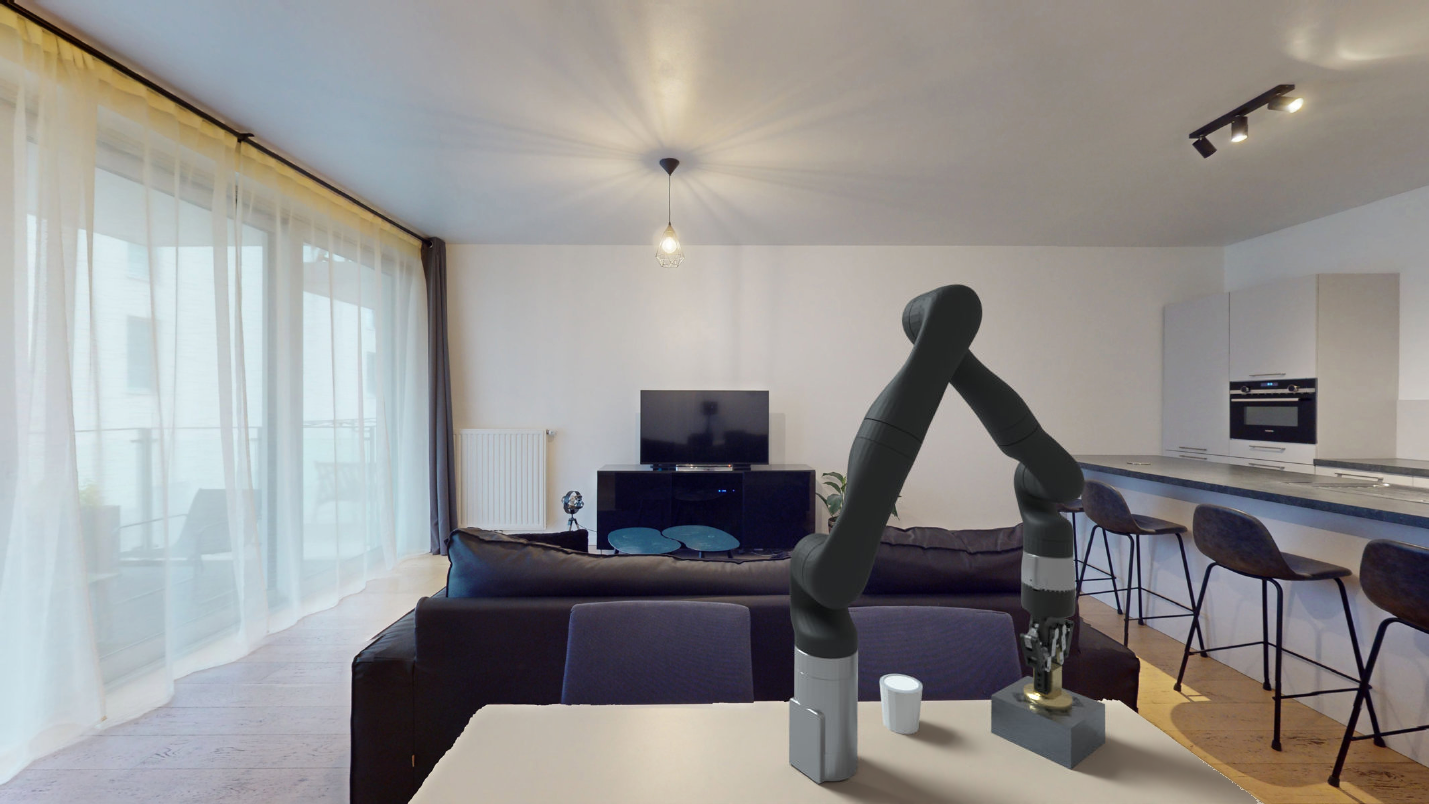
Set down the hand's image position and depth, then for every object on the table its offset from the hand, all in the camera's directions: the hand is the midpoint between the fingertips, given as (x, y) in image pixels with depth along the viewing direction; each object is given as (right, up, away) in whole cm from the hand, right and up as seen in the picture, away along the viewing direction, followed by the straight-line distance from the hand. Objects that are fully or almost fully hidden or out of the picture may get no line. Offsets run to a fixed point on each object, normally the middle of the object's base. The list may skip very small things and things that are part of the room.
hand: (1047, 688), depth 94 cm
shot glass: (-22, -8, +3) cm, 24 cm away
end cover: (0, -6, 0) cm, 6 cm away
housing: (0, -8, 0) cm, 8 cm away
